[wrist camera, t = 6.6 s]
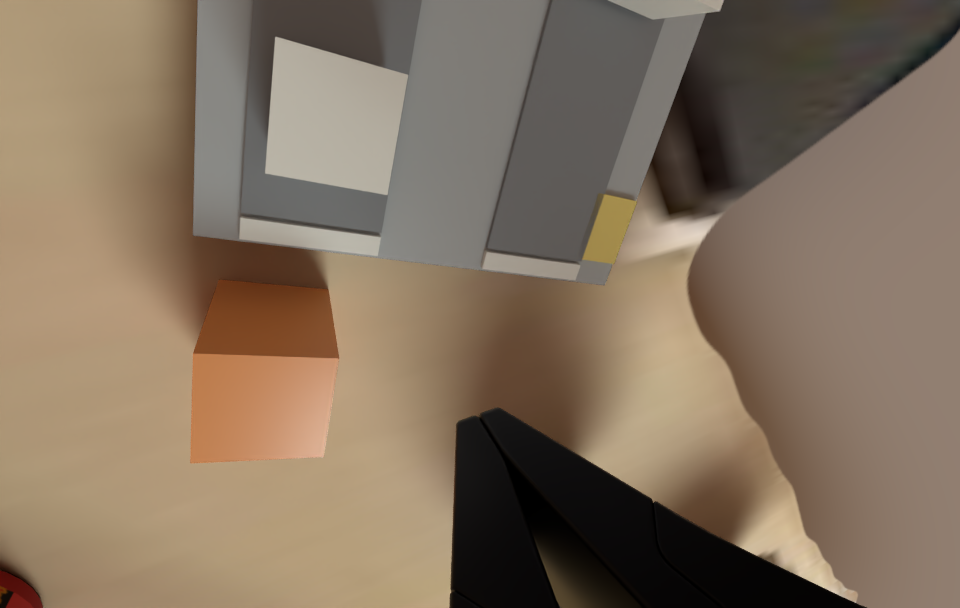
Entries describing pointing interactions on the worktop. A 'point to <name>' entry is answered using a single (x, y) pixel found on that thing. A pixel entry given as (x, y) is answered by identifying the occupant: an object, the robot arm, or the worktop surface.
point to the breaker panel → (449, 129)
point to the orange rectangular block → (263, 374)
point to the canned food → (17, 593)
